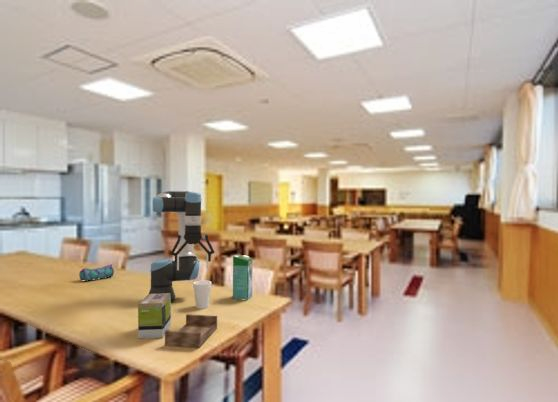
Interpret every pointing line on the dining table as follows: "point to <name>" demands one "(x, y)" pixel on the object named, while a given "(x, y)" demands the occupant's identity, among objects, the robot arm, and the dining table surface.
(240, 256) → the milk carton
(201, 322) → the wooden tray
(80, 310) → the dining table surface
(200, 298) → the foam cup
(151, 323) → the tea box
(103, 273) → the pencil case
